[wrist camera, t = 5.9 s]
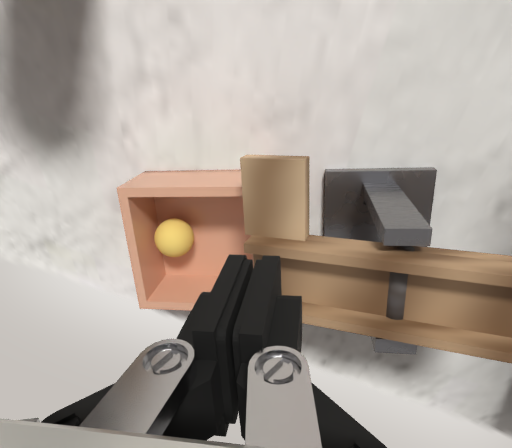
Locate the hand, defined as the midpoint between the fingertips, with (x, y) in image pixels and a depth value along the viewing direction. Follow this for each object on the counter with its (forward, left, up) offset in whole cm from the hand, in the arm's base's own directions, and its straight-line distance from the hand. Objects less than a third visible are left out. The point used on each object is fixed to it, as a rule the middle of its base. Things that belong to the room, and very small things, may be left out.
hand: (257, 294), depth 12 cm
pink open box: (+7, +5, -19) cm, 21 cm away
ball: (+9, +5, -17) cm, 20 cm away
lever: (-7, +3, -11) cm, 13 cm away
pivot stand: (-7, +5, -19) cm, 21 cm away
